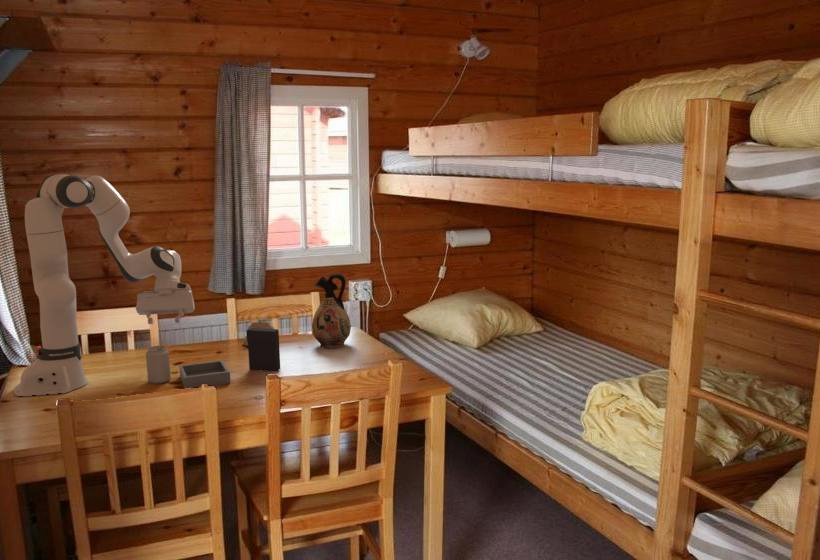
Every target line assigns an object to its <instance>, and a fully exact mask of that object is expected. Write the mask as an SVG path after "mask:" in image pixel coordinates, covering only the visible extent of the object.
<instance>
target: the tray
mask: <svg viewBox="0 0 820 560" xmlns="http://www.w3.org/2000/svg"><path fill="white" fill-rule="evenodd" d="M178 367H179V377H180V380H181V382H182V385H183V389H185V388H190V387H191V389H194V388H193V387H198V388H201V387H200V386H201V385H202V384H207V385H213V386H219V385H226V384H227V383H228V384H231V371H230V369H229V368H228V366H227V365H226V363H225V361H224V360H215V361H214V360H213V361H206V362H205V361H204V362H196V363H190V364H181V365H179V366H178ZM228 384H227V385H228Z"/></svg>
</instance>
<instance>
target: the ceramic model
mask: <svg viewBox="0 0 820 560" xmlns="http://www.w3.org/2000/svg"><path fill="white" fill-rule="evenodd" d="M250 328H263V329H275V327H274V326H273V325H271V324H270V323H269V321H262V319H259V320H258V321H254V322H252V321H251V323H250V324H249V325H248V327H247V330H248V329H250ZM242 343H243V345H244V346H247V347H248V341H247V335H246V336H244V339H243V340H242Z"/></svg>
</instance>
